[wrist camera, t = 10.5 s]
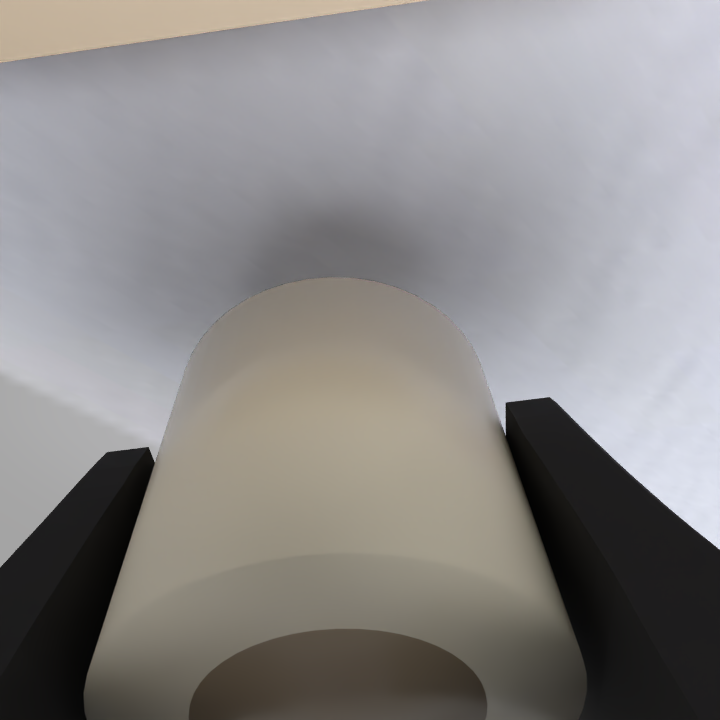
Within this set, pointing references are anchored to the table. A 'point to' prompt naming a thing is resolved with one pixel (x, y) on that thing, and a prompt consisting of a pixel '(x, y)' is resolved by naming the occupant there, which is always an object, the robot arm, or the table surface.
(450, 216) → the table surface
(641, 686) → the robot arm
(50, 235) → the table surface
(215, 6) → the lid
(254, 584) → the beige hollow cylinder
